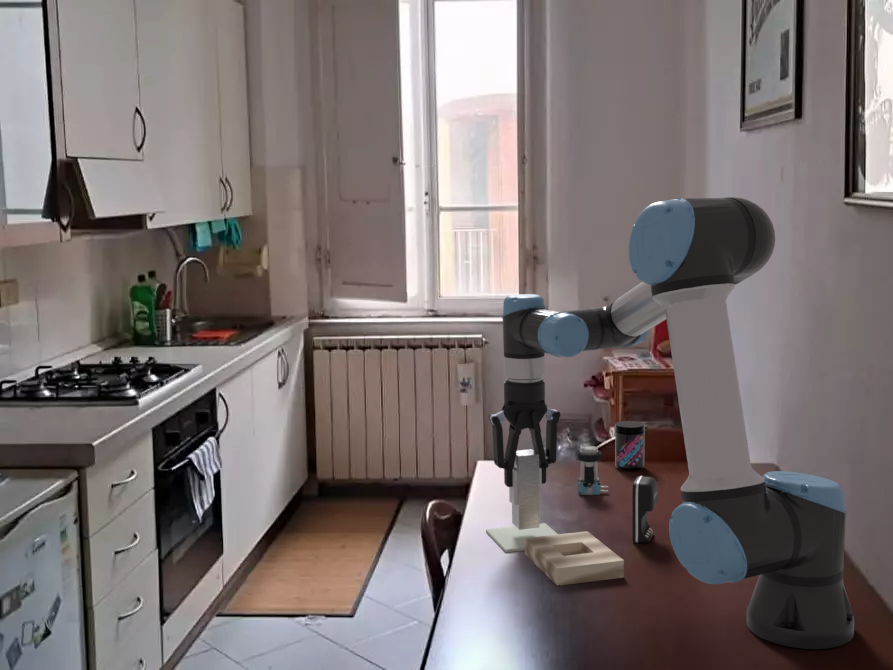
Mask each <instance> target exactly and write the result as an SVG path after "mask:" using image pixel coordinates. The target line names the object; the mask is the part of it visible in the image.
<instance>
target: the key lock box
mask: <svg viewBox="0 0 893 670" xmlns="http://www.w3.org/2000/svg"><path fill="white" fill-rule="evenodd" d="M657 485H658V483H657V480H656V479H655V478H654V477H652V476H643V475H639V476H637V477H636V478H635V480H634V481H633V484H632V491H631V492H632V495H631V498H632V503H631V504H632V505H631V507H632V508H631V509H632V511H631V515H632V516H631V517H632V518H631V519H632V520H631V521H632V525H631V526H632V533H631V535H632V536H631V537H632V538H631V539H632V543H633V542H634V543H636V544H638V543H645V544H646V543H649V542H651V540H652V538H653V536H654V530H653V528H651V526H650V524H649V521H648V512H652V511H654V509H655V507H656V506H657V503H658V486H657Z"/></svg>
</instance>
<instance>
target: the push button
mask: <svg viewBox="0 0 893 670" xmlns="http://www.w3.org/2000/svg"><path fill="white" fill-rule="evenodd" d="M575 453H576V456H577V460H578V461H579V462H580V477H579V479H578V480H577V493H578V495H582V496H585V495H586V496H588V495H589V496H594V495H596V496H597V495H601V492H603V493H604V492H607V493H608V492H609V490H608V489H601V488H609V486H608V485H601V481H600V478H599V475H598V466H599V465H598V462H599V461H601V456H602V454H603V453H602V451H601V450H598V447H597V446H596V445H595V446H593V445H584V446H583V445H582V446H581V447H580V449H579V450H577V451H576V452H575Z"/></svg>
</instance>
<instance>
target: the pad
mask: <svg viewBox="0 0 893 670" xmlns="http://www.w3.org/2000/svg"><path fill="white" fill-rule="evenodd" d="M485 532H486V534H487V535H488V536H489V537H490V538H491V539H492V540H493V541H494V542H495V543H496V544H497V545H498V546H499V547H500V548H501V549H502V550H503V551H504V552H505V553H511V552H520V551H525V538H531V537H540V536H549V535H558V534H559V533H557V532H556V531H555V530H554V529H553V528H551V526H549V525H548V524H547V523H546V522H543V523H539V528H531V529H522V530H519V529H518V528H517V527H516V526H515V525H513V526H505V527H498V528H488V529H485Z"/></svg>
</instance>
